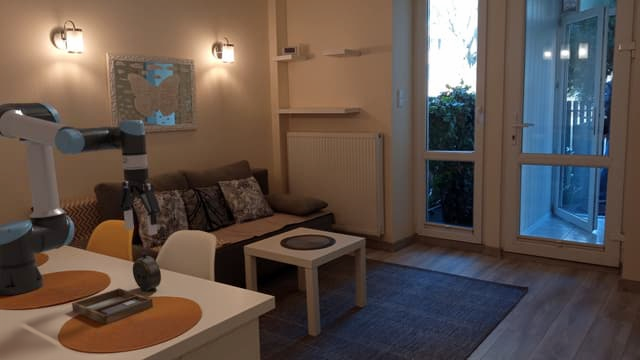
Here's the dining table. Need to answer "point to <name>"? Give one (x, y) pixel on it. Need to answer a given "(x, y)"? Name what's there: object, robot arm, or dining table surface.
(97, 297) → the organizer tray
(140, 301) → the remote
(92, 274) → the dining table surface
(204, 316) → the dining table surface
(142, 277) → the alarm clock
